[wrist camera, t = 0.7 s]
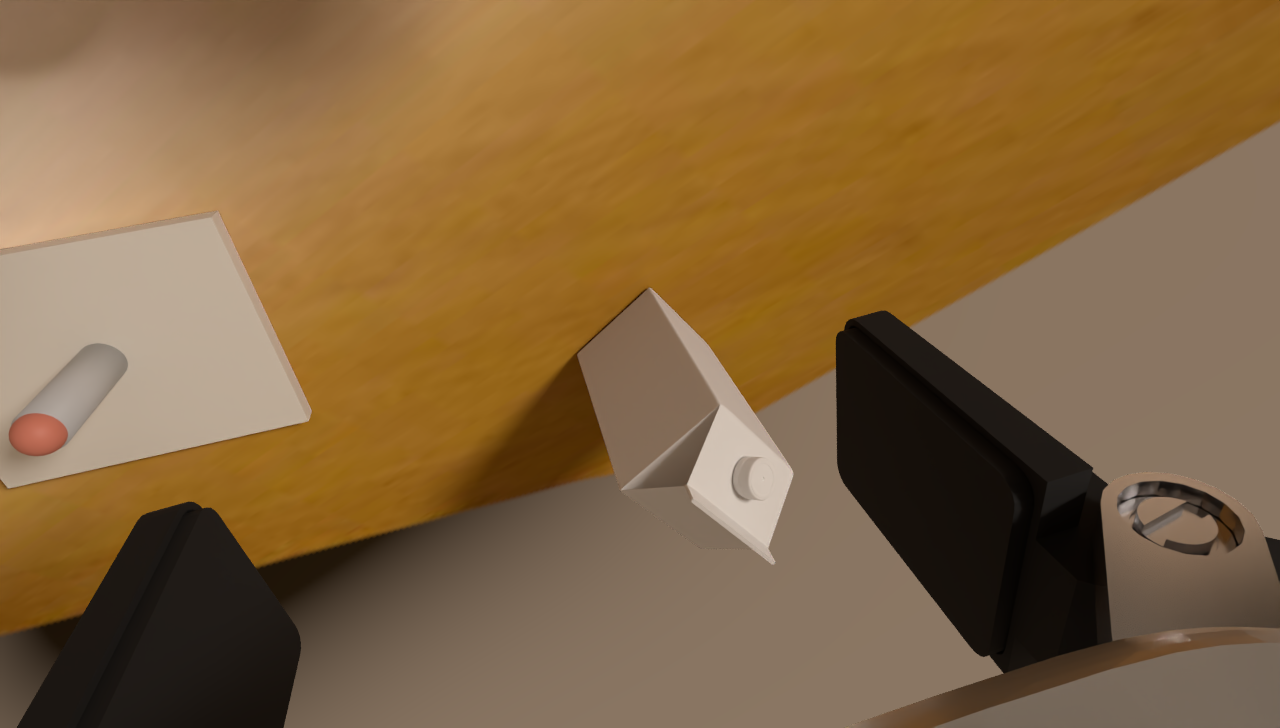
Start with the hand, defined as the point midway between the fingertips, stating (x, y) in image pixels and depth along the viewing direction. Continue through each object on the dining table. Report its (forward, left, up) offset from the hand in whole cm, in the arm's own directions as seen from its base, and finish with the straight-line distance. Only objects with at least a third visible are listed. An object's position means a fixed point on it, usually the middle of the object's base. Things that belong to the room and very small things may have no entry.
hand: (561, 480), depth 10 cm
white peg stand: (+10, -25, -33) cm, 43 cm away
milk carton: (+18, +7, -34) cm, 39 cm away
